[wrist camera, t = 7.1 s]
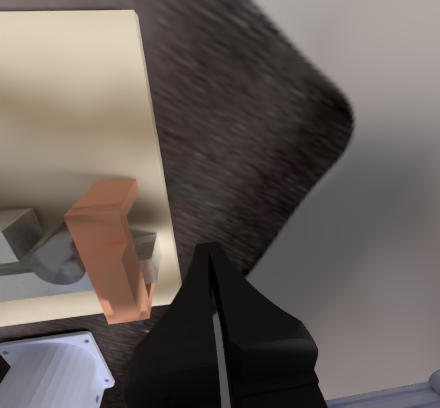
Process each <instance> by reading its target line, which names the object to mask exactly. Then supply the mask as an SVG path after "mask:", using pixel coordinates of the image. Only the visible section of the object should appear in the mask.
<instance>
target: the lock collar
mask: <svg viewBox="0 0 440 408" xmlns="http://www.w3.org/2000/svg"><path fill="white" fill-rule="evenodd" d="M138 192H139V188H138V184H137V179H130V180H117V181H105V182H96V183H95V184H94V185H93V186H92V187H91V188H90V189H89V190H88V191H87V192H86V193H85V194H84V195H83V196H82V197H81V198H80V199H79V200H78V201H77V202H76V203H75V204H74V205H73V206H72V207H71V208H70V210H69V211H68V212H67V213H66V214H65V215H64V216H63V217H64V219H65V221H66V224H67V226H68V229H69V231H70V233H71V236H72V238H73V240H74V243H75V245H76V248H77V250H78V252H79V255H80V257H81V260H82V262H83V264H84V267H85V269H86V271H87V274H88V276H89V279H90V281H91V283H92V286H93V288H94V290H95V293H96V295H97V298H98V300H99V302H100V305H101V307H102V309H103V312H104V314H105V317H106V319H107V321H108V324H115V323H122V322H129V321H136V320H143V319H149V317H150V311H151V305H152V299H153V293H154V287H155V283H149V284H145V283H144V279H143V275H142V272H141V268H140V264H139V261H138V257H137V253H136V250H135V246H134V242H133V238H132V235H131V231H130V227H129V224H128V220H127V215H128V213H129V211H130V209H131V207H132V205H133V203H134V201H135V198H136V196H137V194H138Z"/></svg>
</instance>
